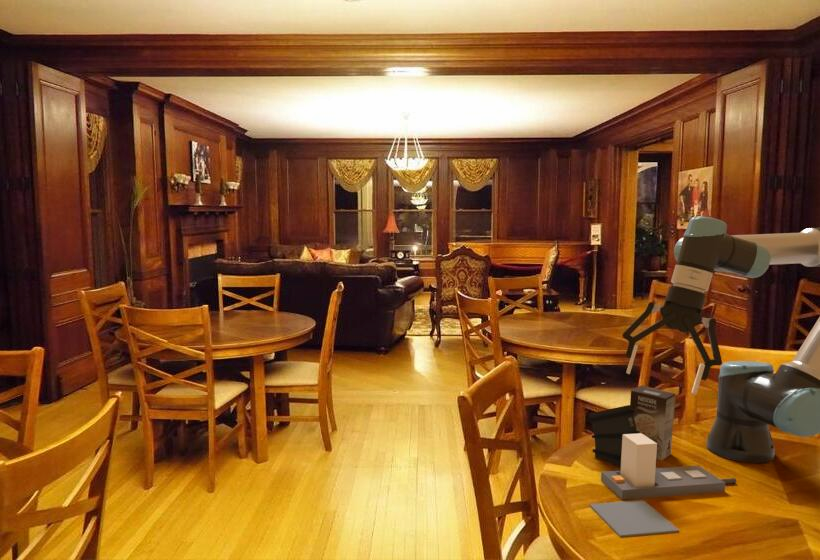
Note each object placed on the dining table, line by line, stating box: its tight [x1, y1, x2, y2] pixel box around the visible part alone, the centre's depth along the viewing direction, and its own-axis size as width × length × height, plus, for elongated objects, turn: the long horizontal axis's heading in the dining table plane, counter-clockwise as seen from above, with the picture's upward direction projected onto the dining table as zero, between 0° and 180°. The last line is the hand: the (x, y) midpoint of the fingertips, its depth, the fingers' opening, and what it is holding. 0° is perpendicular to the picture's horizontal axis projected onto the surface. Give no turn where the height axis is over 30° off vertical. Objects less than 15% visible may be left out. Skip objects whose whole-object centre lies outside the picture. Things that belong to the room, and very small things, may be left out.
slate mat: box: [589, 499, 680, 538], centre depth 118 cm, size 12×12×1 cm
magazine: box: [587, 404, 640, 469], centre depth 145 cm, size 4×13×15 cm, turn 32°
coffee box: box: [629, 385, 676, 461], centre depth 151 cm, size 9×6×16 cm
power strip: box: [600, 464, 737, 501], centre depth 133 cm, size 30×9×3 cm, turn 100°
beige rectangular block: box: [620, 433, 657, 488], centre depth 131 cm, size 4×6×11 cm
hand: (660, 383), depth 131 cm, fingers open, 13 cm apart
